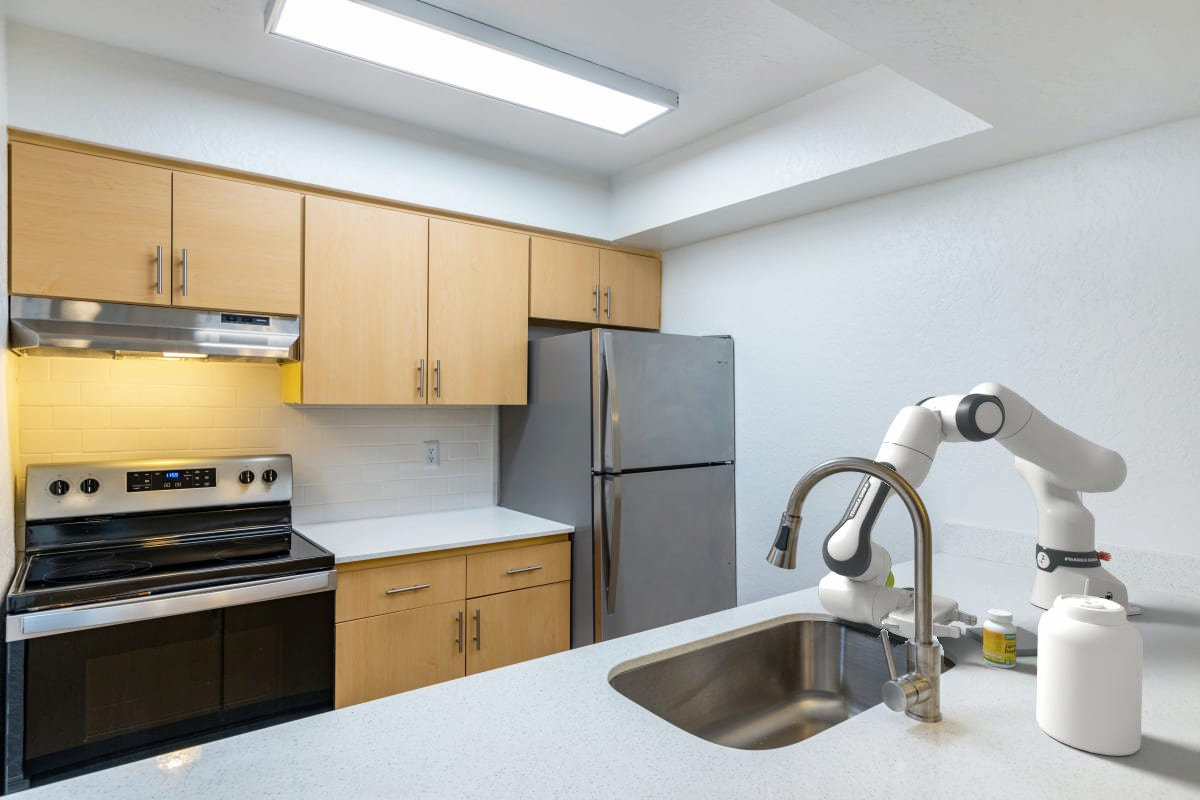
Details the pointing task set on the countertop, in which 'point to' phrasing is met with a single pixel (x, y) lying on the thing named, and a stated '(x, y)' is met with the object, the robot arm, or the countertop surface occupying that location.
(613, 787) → the countertop surface
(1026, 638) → the coaster
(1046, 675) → the white plastic jar
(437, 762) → the countertop surface
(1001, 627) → the supplement bottle
